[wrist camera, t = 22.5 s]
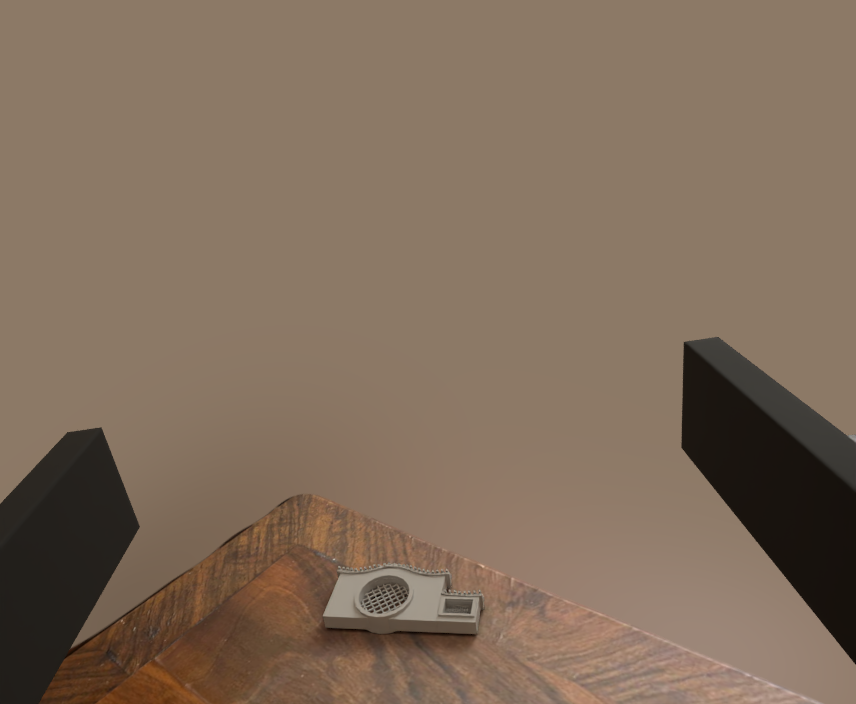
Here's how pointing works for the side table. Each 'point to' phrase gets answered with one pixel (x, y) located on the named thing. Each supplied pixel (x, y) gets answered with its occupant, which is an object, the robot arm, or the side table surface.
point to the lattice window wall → (418, 613)
